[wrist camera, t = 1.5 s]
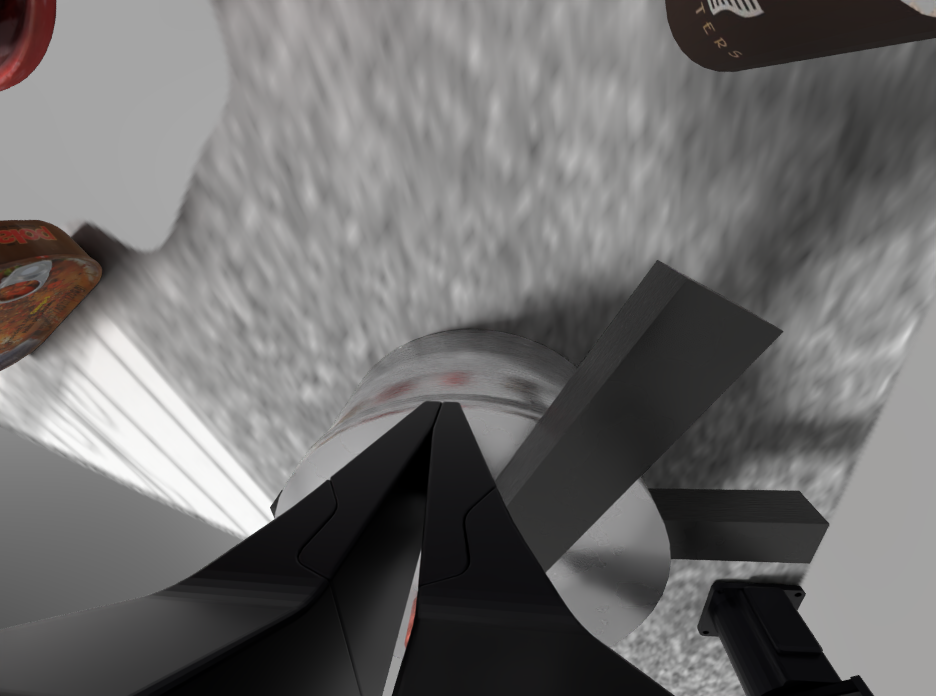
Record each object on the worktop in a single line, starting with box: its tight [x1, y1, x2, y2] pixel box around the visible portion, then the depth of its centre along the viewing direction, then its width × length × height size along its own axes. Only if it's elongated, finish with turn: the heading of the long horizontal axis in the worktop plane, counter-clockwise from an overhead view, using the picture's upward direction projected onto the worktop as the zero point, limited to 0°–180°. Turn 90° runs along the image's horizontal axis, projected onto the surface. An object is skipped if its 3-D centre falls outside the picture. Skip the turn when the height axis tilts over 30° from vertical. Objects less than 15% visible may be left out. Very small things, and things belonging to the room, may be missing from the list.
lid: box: [275, 260, 783, 659], centre depth 16 cm, size 25×19×3 cm
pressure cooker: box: [270, 329, 829, 563], centre depth 22 cm, size 28×18×7 cm, turn 94°
